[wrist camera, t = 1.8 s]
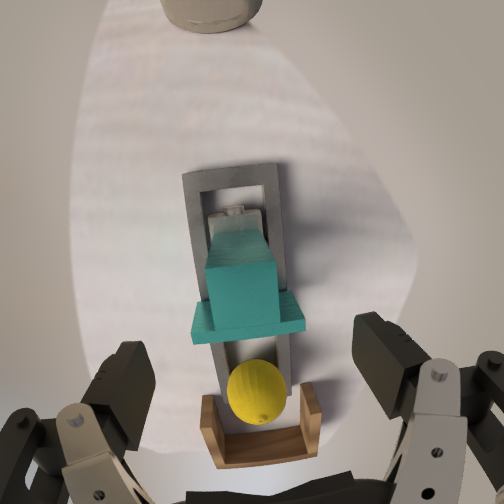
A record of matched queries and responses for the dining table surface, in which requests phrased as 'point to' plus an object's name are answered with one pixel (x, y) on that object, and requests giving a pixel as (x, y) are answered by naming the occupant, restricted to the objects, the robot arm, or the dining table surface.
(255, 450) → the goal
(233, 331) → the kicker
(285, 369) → the rails
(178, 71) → the dining table surface
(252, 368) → the lemon
